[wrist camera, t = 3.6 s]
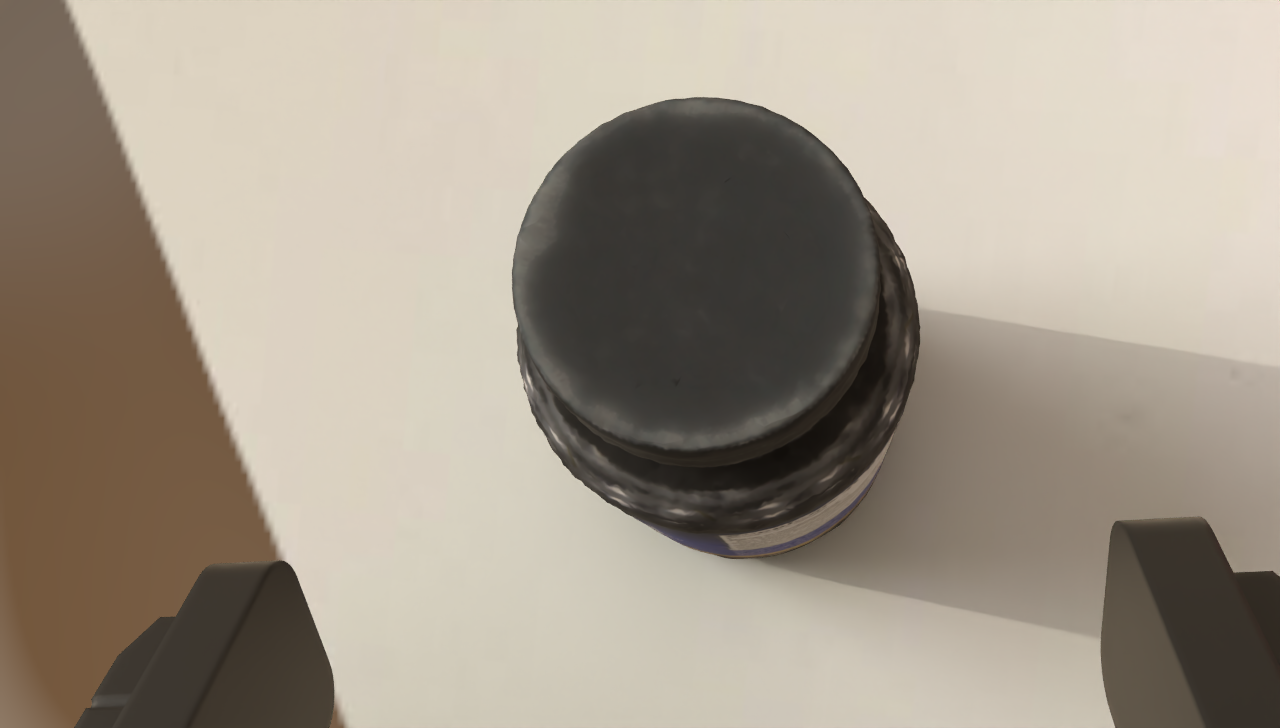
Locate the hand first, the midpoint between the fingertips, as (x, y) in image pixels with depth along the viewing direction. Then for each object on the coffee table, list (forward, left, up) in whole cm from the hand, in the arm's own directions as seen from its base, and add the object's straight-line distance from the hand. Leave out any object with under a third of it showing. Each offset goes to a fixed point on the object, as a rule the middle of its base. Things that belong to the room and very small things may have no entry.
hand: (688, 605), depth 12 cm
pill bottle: (0, +4, -13) cm, 14 cm away
